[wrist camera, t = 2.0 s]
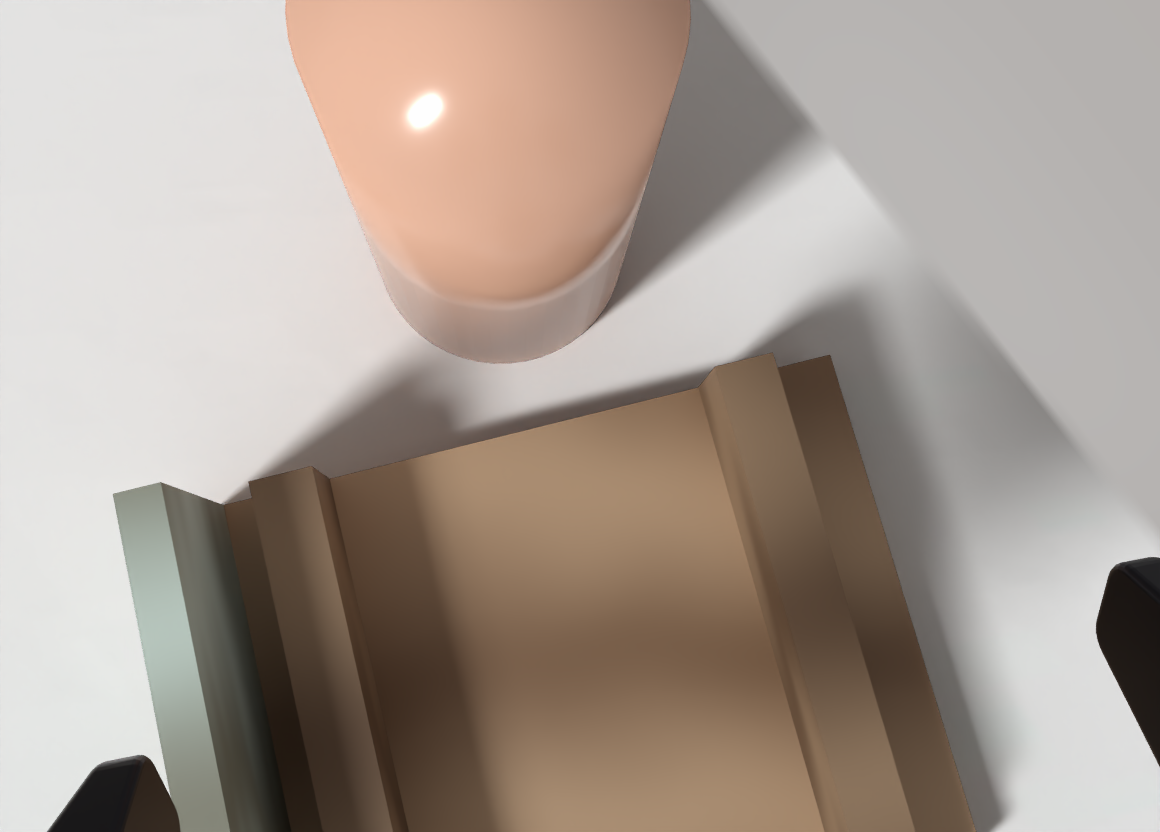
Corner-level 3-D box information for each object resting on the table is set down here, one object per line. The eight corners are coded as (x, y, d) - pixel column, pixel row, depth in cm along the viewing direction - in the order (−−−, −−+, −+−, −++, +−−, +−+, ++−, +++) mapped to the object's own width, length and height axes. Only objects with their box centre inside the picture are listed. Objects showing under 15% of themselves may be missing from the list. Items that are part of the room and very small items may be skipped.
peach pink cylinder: (632, 355, 25) (710, 183, 15) (383, 371, 24) (292, 206, 14) (611, 124, 26) (670, -181, 16) (371, 136, 25) (278, -168, 15)
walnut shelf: (963, 857, 23) (1091, 928, 18) (310, 1055, 22) (246, 1192, 16) (815, 367, 25) (892, 302, 20) (201, 519, 23) (112, 493, 18)
